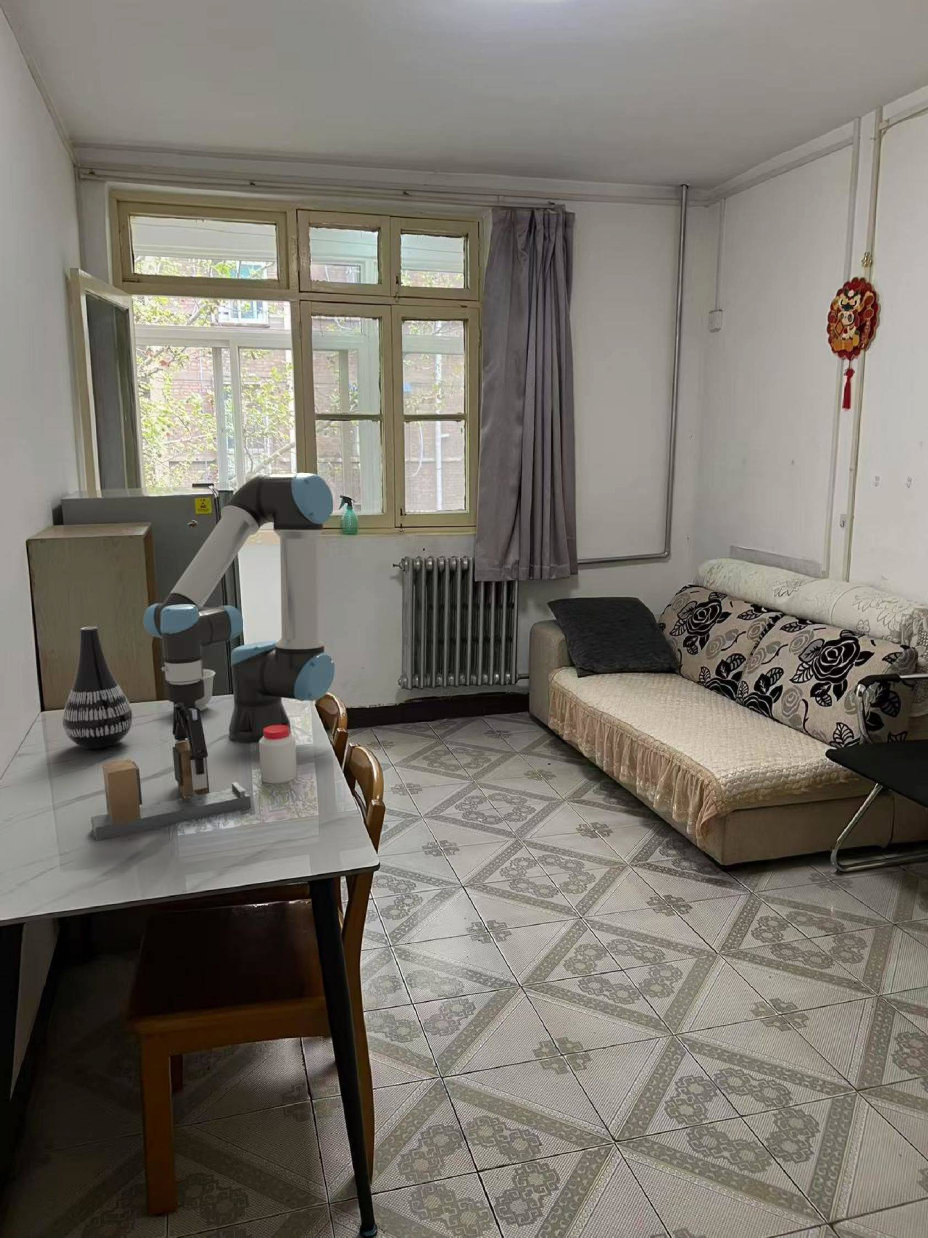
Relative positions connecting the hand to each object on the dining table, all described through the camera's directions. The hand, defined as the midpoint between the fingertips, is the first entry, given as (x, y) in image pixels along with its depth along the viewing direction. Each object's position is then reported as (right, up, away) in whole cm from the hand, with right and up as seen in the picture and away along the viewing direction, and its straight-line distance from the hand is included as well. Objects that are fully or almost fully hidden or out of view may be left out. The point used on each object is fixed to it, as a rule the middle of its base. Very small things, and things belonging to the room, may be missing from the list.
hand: (192, 779), depth 193 cm
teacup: (-18, +8, +62) cm, 65 cm away
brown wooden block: (0, -3, +1) cm, 3 cm away
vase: (-32, +2, +33) cm, 46 cm away
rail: (+1, -5, -14) cm, 15 cm away
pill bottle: (+17, -1, +8) cm, 19 cm away
